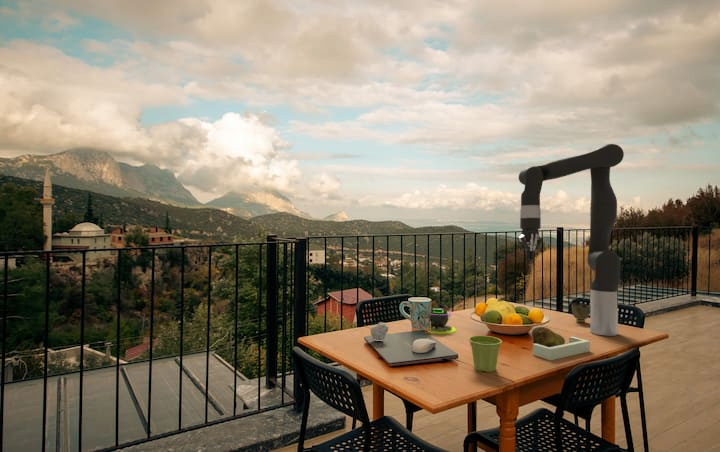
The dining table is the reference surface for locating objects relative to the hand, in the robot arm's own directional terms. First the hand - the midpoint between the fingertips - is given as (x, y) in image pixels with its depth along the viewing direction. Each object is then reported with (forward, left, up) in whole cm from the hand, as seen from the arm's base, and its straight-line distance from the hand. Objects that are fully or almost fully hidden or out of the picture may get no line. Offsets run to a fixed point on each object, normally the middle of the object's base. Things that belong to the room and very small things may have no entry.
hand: (530, 260), depth 162 cm
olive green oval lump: (+13, +18, -29) cm, 37 cm away
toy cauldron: (+29, -22, -29) cm, 47 cm away
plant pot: (+47, +22, -29) cm, 60 cm away
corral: (+13, +23, -29) cm, 39 cm away
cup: (-36, -2, -29) cm, 46 cm away
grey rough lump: (+60, -17, -29) cm, 69 cm away
